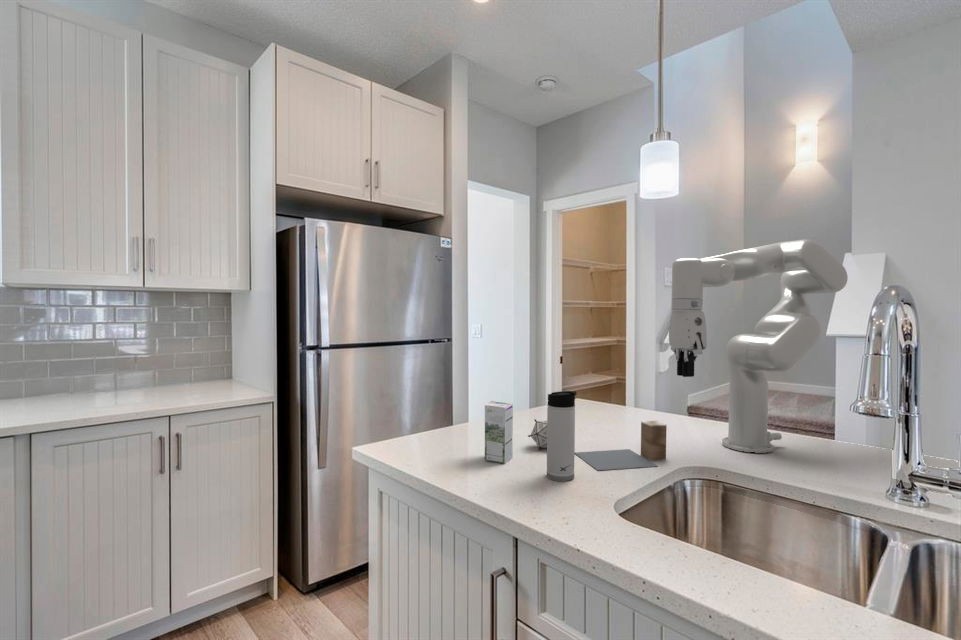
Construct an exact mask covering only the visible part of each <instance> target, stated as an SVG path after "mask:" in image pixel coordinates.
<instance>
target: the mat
mask: <svg viewBox="0 0 961 640" xmlns="http://www.w3.org/2000/svg"><path fill="white" fill-rule="evenodd" d="M574 455H576V456H577V457H578V456H579V457H578V458H580V459H581V460H582V459H583V460H582V461H584V462H585V463H586V464H587V465H589V466H590V467H591V468H593V469H594V470H595V469H596V470H595V471H597V472H602V471H603V472H604V470H605V471H615V470H616V471H617V469H619V470H631V469H632V468H633V469H644V468H657V467H659V465H657V464H656V463H653V462H652V461H651V460H648V459H647V458H645V457H643V456H641V454H638V453H636V452H635V451H633V450H631V449H629V448H626V449H624V448H623V449H611V450H610V449H608V450H595V451H577V452H575V454H574ZM629 468H630V469H629Z"/></svg>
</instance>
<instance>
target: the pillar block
mask: <svg viewBox="0 0 961 640" xmlns="http://www.w3.org/2000/svg"><path fill="white" fill-rule="evenodd" d="M640 423H641V424H640V425H641V426H640V427H641V429H640V456H641V455H642V457H644V458H645V459H647V460H648V459H649V461H662V459H665V460H667V429H668V428H667V424H665V423H663V422H661V421H659V420H644V421H643V420H641V422H640Z"/></svg>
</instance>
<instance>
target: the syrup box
mask: <svg viewBox="0 0 961 640" xmlns="http://www.w3.org/2000/svg"><path fill="white" fill-rule="evenodd" d="M513 415H514V404H513V402H508V401H507V402H505V401H499V400H498V401H497V400H496V401H495V400H493V401H489V402H487V403H486V404H484V461H485V460H486V462H491V461H492V463H499V464H506V463H508V462H509V461H510V460H512V459H513V453H514V452H513V436H514V435H513V430H514V429H513V428H514V427H513V425H514V422H513V421H514V420H513V419H514V416H513Z"/></svg>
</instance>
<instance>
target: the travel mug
mask: <svg viewBox="0 0 961 640" xmlns="http://www.w3.org/2000/svg"><path fill="white" fill-rule="evenodd" d="M577 394H578V393H577V391H576V390H562V391H553V392H551V393H548V394H547V406H546V407H547V409H546V411H547V416H546V421H547V447H546V476H547V478H548V479H550V480H552V481H556V482H569V481H571V480H573V479H574V478H575V455H576V454H575V453H576V452H575V450H576V449H575V447H576V446H575V442H576V440H575V439H576V438H575V437H576V436H575V434H576V430H575V429H576V409H575V408H576V403H575V402H576V396H577Z"/></svg>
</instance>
